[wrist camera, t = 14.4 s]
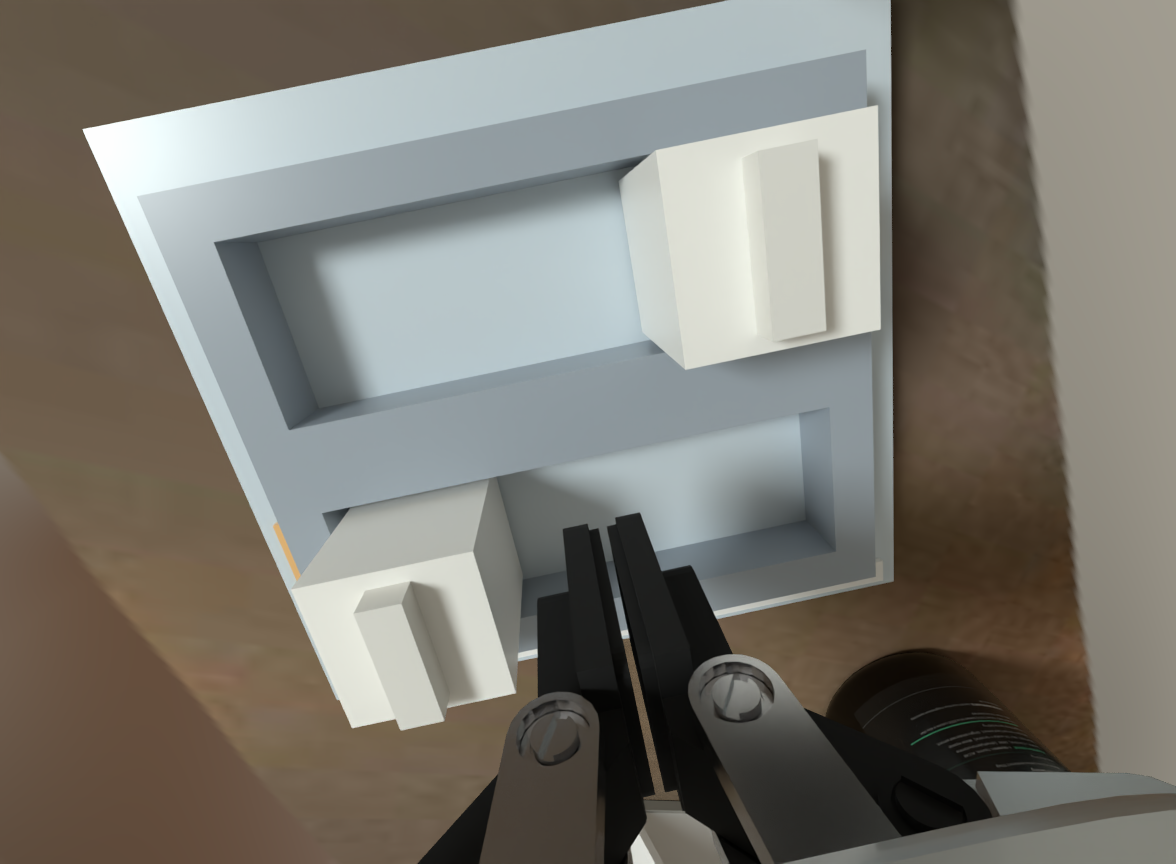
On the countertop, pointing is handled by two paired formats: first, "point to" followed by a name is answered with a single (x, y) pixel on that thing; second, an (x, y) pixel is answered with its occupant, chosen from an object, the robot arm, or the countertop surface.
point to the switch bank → (519, 301)
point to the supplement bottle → (939, 716)
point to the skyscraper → (673, 837)
